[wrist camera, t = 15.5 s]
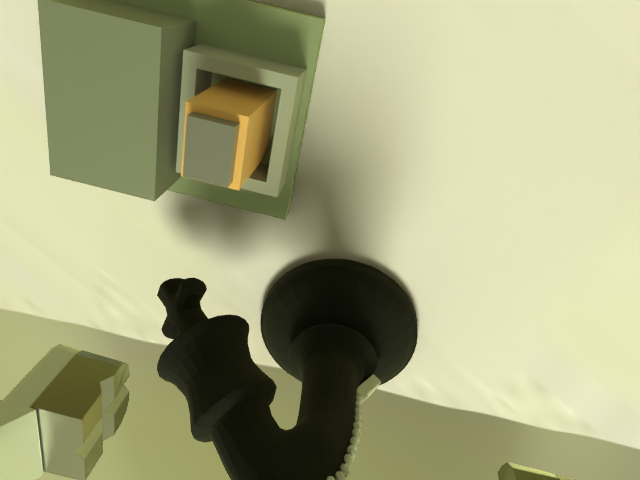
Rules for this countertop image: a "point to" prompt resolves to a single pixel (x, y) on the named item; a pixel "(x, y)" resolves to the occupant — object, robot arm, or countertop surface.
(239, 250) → the countertop surface
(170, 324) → the sculpture
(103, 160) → the green plate with frame
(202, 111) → the yellow box green face
